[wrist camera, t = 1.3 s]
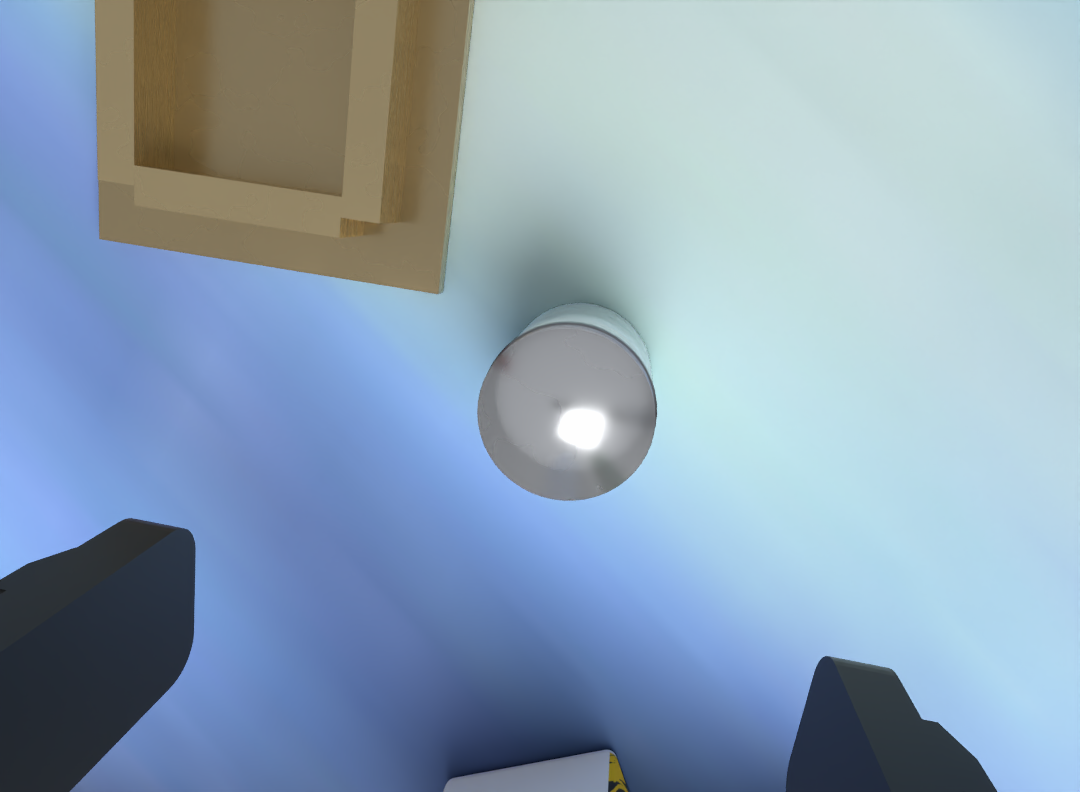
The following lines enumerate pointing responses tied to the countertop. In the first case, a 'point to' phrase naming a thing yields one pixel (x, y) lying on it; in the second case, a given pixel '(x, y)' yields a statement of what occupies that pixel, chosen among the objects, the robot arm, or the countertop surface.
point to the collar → (284, 131)
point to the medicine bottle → (549, 776)
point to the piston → (570, 403)
